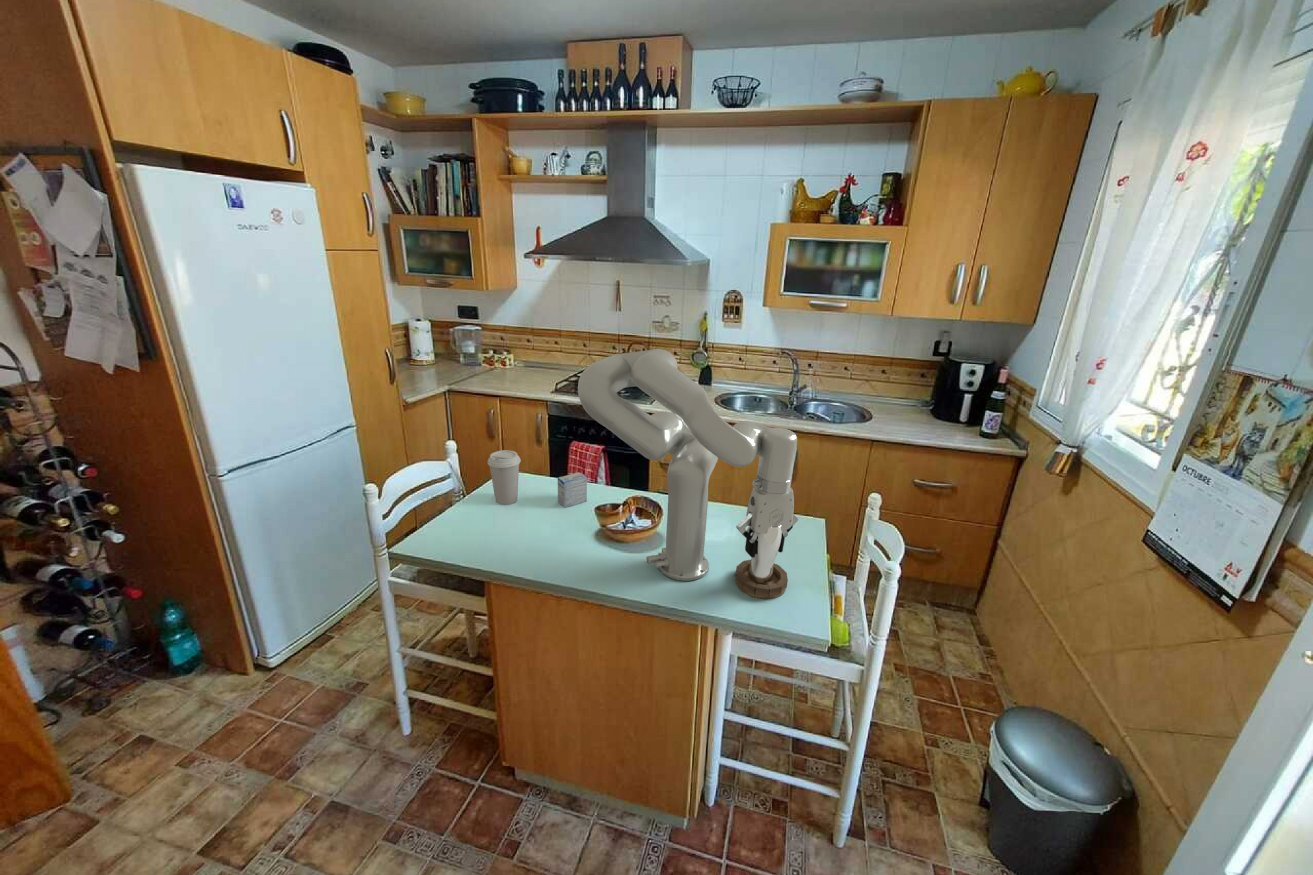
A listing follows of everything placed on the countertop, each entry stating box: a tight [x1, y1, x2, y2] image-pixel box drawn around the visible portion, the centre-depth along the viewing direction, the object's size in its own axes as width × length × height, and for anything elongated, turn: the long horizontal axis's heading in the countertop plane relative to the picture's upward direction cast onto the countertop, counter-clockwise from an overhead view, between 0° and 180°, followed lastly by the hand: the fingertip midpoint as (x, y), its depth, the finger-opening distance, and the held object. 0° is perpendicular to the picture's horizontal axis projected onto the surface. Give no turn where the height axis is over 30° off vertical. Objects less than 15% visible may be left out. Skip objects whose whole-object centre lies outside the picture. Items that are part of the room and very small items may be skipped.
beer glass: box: [748, 526, 782, 583], centre depth 121 cm, size 7×7×15 cm
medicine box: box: [557, 472, 588, 509], centre depth 158 cm, size 8×4×9 cm, turn 130°
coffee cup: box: [487, 449, 522, 506], centre depth 156 cm, size 10×10×15 cm
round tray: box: [734, 559, 789, 600], centre depth 124 cm, size 12×12×3 cm
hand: (763, 551), depth 121 cm, fingers closed on beer glass, 6 cm apart
